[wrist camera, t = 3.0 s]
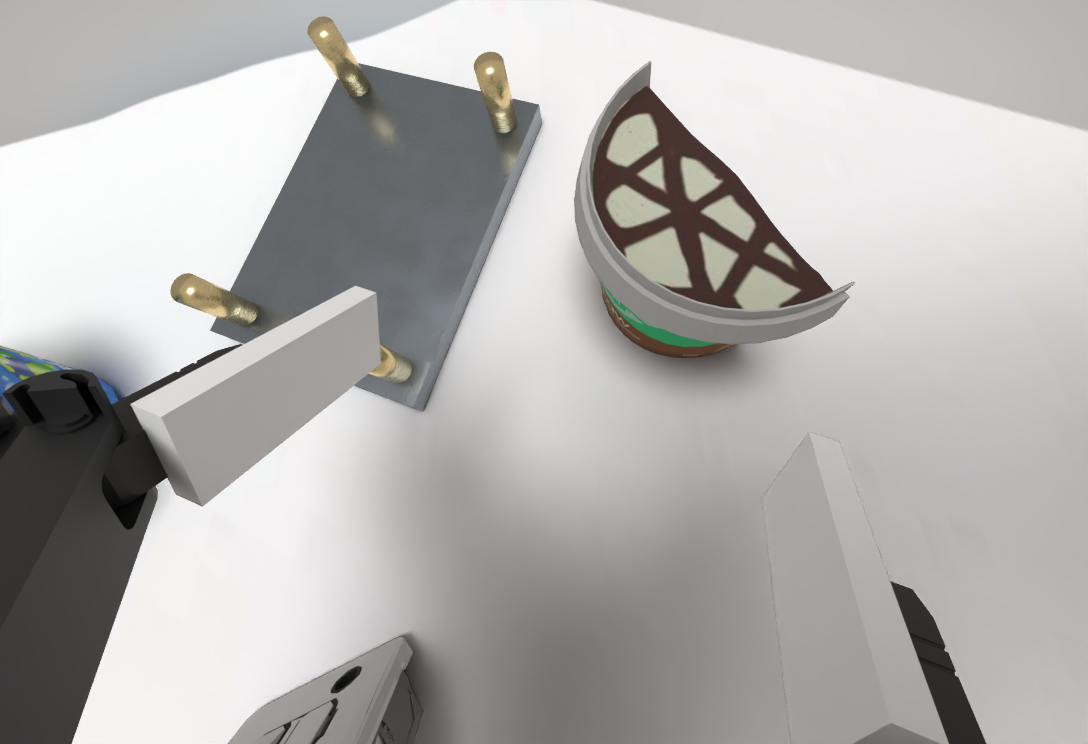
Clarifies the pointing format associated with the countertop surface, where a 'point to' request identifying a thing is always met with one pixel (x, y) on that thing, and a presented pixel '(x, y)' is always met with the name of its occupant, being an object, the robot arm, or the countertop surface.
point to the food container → (685, 238)
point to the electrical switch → (344, 705)
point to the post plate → (384, 212)
